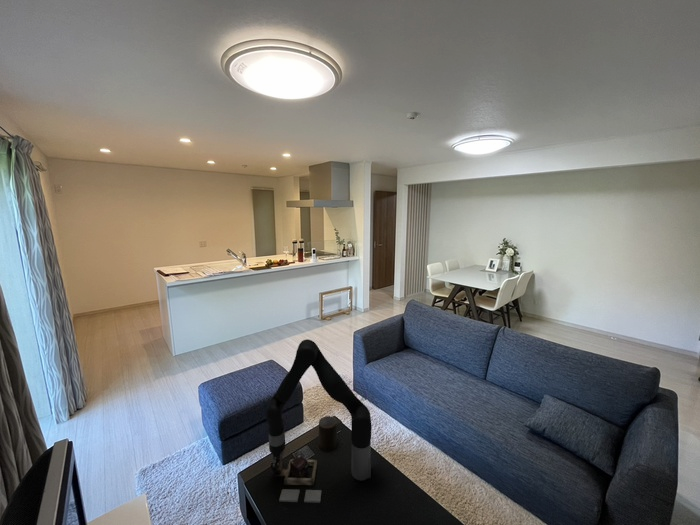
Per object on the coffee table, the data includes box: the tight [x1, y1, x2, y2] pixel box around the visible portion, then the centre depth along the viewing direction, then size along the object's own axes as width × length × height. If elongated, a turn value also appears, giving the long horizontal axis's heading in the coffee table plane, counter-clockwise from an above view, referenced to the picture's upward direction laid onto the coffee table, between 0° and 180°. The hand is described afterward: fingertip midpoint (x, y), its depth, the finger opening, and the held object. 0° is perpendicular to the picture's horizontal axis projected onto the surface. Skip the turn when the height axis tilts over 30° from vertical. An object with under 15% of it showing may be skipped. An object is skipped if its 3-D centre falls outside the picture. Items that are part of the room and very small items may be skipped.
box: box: [290, 454, 309, 478], centre depth 138 cm, size 6×6×7 cm
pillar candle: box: [318, 415, 338, 452], centre depth 156 cm, size 10×10×15 cm
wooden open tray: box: [278, 458, 318, 486], centre depth 138 cm, size 20×11×6 cm, turn 88°
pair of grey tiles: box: [278, 488, 322, 504], centre depth 128 cm, size 18×5×1 cm, turn 88°
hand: (278, 470), depth 139 cm, fingers open, 4 cm apart
